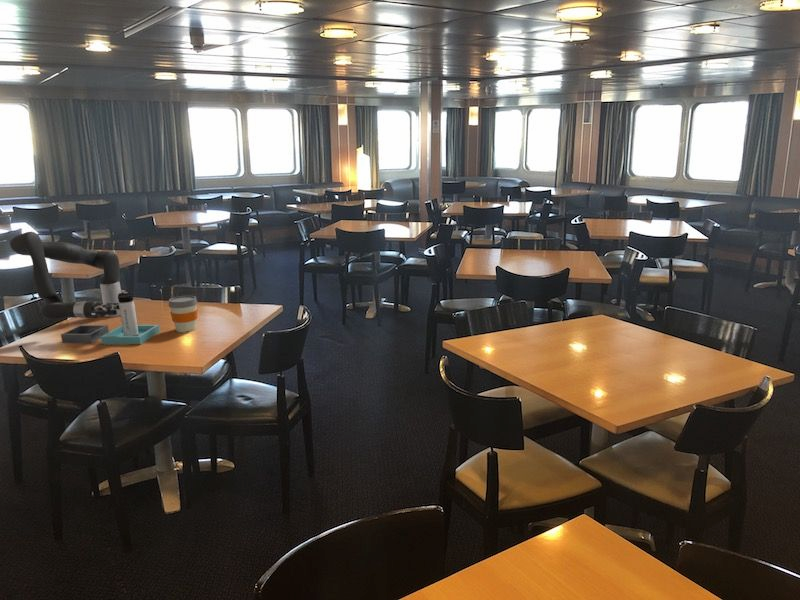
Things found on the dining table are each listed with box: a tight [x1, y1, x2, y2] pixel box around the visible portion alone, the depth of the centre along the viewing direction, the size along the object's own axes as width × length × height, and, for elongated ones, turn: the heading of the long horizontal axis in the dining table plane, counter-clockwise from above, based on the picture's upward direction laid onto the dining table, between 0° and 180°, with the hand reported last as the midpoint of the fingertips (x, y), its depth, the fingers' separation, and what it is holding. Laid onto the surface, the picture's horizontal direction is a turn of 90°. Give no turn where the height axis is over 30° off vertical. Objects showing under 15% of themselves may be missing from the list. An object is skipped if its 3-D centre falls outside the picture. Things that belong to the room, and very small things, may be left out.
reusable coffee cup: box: [168, 295, 198, 333], centre depth 290 cm, size 12×12×15 cm
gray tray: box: [60, 324, 110, 344], centre depth 283 cm, size 14×14×4 cm
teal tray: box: [100, 324, 161, 346], centre depth 281 cm, size 18×18×4 cm
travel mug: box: [118, 292, 139, 336], centre depth 278 cm, size 6×7×20 cm
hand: (121, 309), depth 278 cm, fingers open, 8 cm apart
